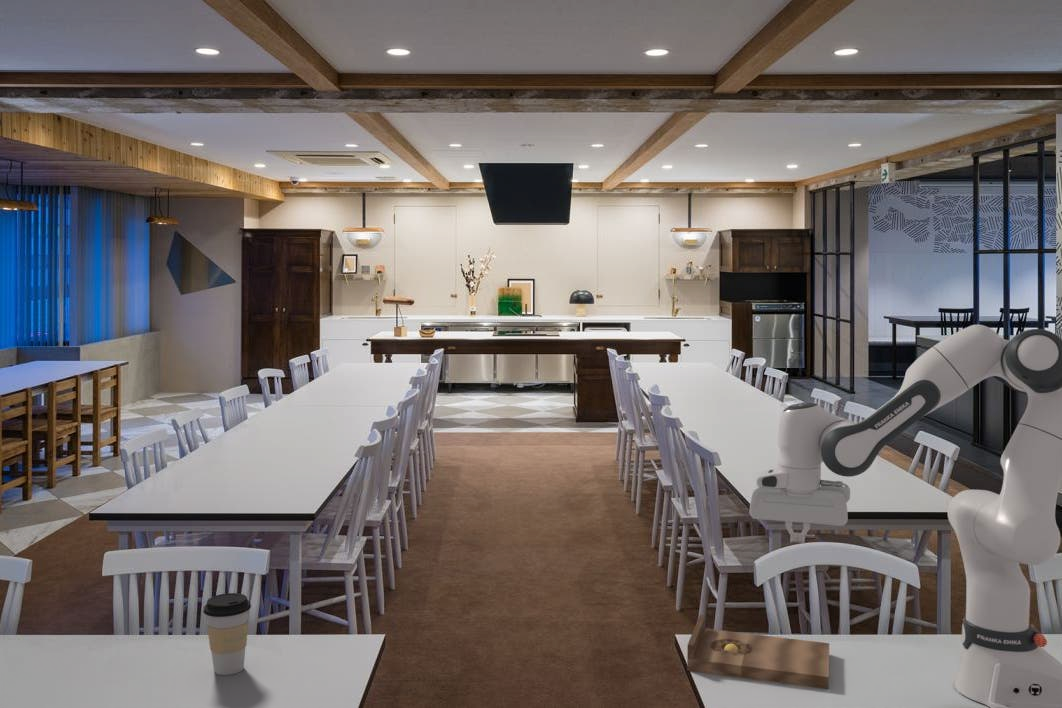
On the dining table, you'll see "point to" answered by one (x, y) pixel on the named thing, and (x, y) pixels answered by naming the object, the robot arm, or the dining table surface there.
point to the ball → (731, 647)
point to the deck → (758, 657)
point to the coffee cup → (227, 631)
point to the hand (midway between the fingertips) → (797, 542)
